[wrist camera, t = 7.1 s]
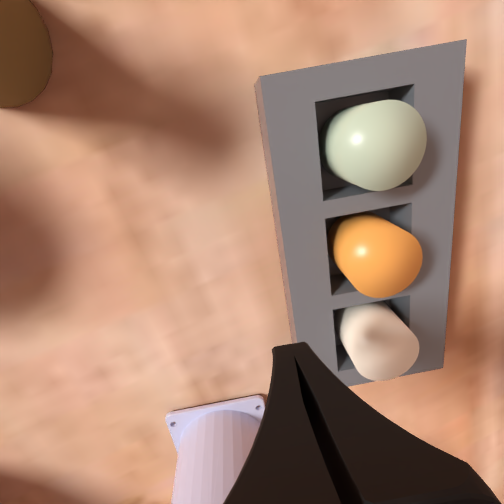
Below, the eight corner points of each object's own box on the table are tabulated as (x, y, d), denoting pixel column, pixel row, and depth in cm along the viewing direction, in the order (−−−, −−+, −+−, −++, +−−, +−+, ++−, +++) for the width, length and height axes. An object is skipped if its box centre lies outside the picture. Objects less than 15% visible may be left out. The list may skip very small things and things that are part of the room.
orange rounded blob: (387, 262, 21) (421, 290, 18) (328, 273, 21) (350, 304, 17) (386, 204, 20) (423, 222, 16) (323, 216, 20) (346, 236, 16)
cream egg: (387, 335, 23) (418, 374, 20) (334, 345, 23) (355, 386, 20) (387, 288, 22) (420, 320, 18) (330, 299, 22) (352, 333, 18)
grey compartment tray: (418, 341, 25) (443, 367, 22) (295, 365, 25) (304, 394, 22) (428, 53, 18) (466, 39, 15) (254, 84, 18) (259, 76, 15)
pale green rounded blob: (385, 172, 19) (425, 182, 15) (321, 184, 19) (344, 197, 15) (385, 100, 18) (428, 92, 14) (314, 112, 18) (338, 108, 14)
